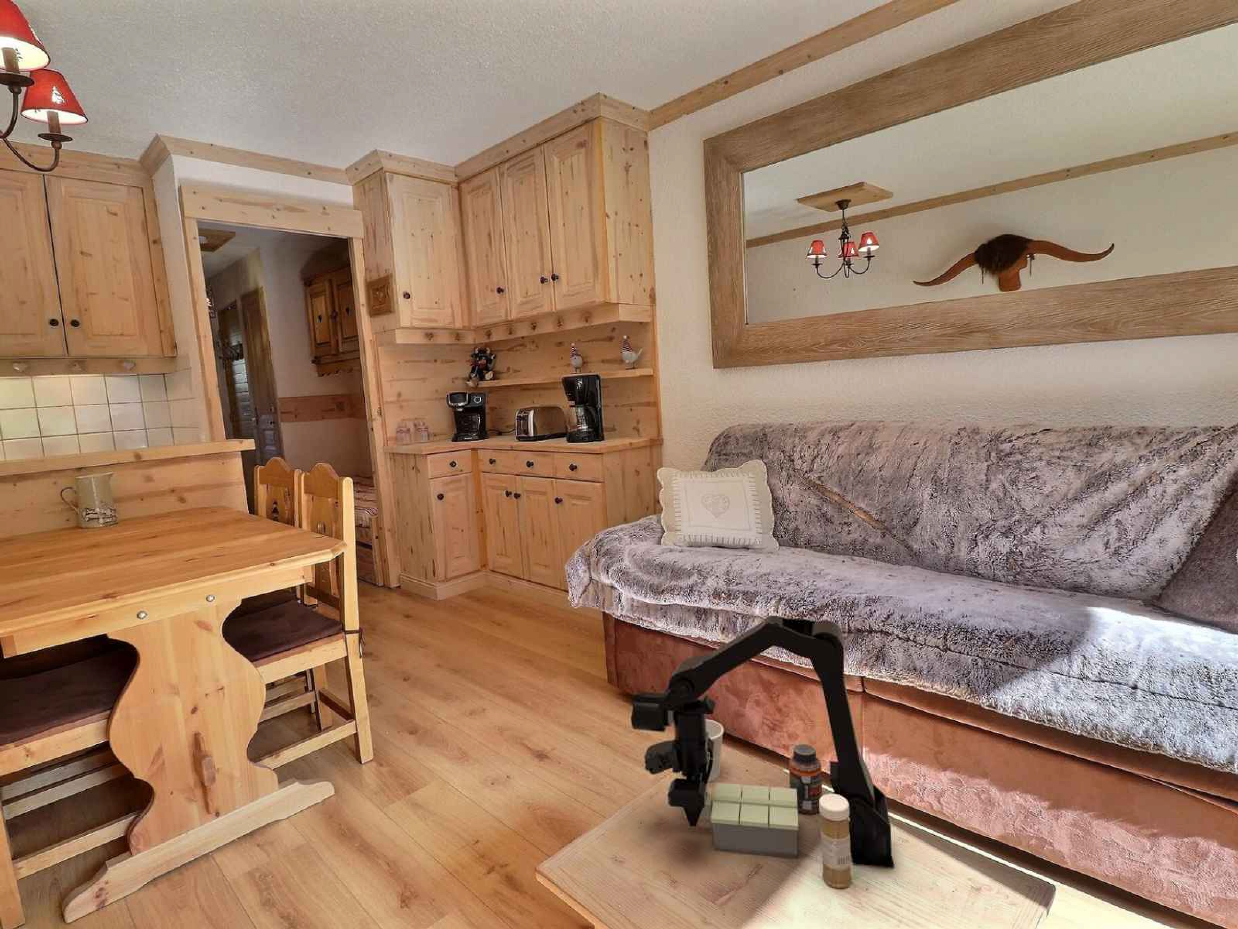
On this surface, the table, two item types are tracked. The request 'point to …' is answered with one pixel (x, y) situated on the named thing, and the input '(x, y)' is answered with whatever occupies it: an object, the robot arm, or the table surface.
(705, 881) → the table surface
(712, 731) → the dixie cup
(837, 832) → the sprinkles bottle
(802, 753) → the supplement bottle
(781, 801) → the lid
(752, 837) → the tub
